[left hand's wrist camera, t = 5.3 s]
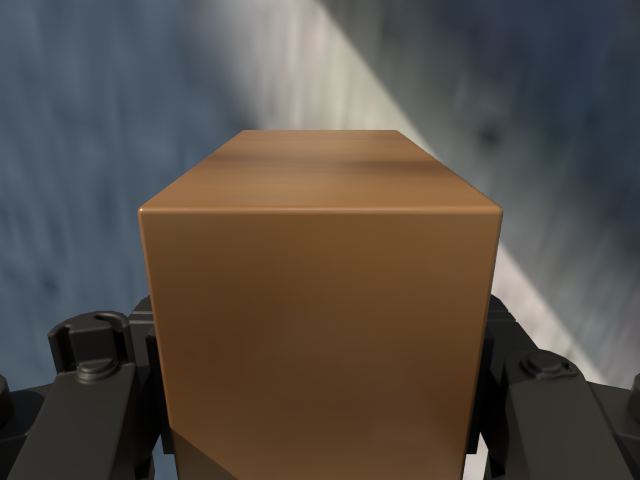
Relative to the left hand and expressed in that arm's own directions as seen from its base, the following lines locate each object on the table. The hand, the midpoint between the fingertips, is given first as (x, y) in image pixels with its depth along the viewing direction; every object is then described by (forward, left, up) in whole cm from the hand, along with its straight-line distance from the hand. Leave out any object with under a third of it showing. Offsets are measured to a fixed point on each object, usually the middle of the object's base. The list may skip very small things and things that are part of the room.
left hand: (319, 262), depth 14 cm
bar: (+10, 0, -1) cm, 10 cm away
